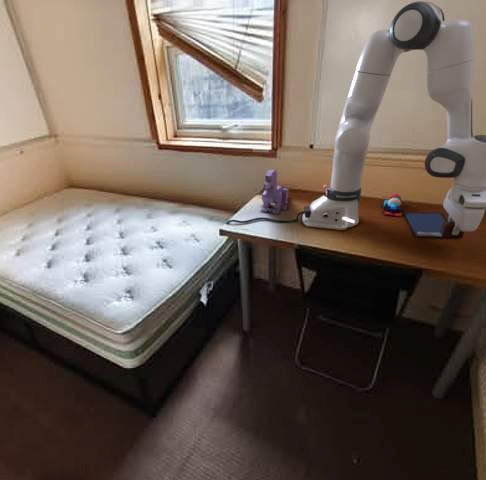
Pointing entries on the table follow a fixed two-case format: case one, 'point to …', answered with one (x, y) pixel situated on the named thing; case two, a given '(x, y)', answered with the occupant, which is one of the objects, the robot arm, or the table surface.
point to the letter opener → (443, 231)
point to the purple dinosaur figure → (274, 193)
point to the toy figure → (393, 205)
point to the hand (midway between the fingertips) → (452, 231)
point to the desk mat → (426, 223)
